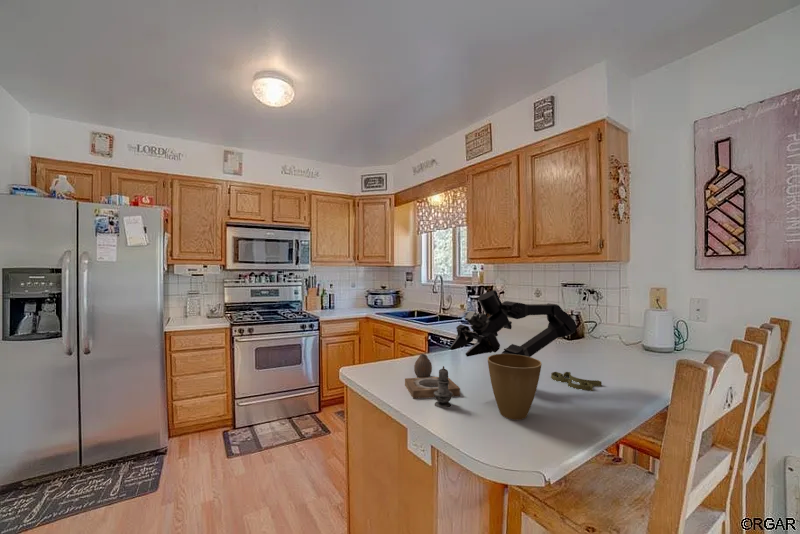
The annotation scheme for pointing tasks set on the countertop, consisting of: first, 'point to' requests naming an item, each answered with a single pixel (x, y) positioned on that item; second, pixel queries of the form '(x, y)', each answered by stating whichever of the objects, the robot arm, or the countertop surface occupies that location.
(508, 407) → the plant pot
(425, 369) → the vase
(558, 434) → the countertop surface
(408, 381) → the bore block
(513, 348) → the robot arm
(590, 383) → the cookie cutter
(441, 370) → the grey chess piece
